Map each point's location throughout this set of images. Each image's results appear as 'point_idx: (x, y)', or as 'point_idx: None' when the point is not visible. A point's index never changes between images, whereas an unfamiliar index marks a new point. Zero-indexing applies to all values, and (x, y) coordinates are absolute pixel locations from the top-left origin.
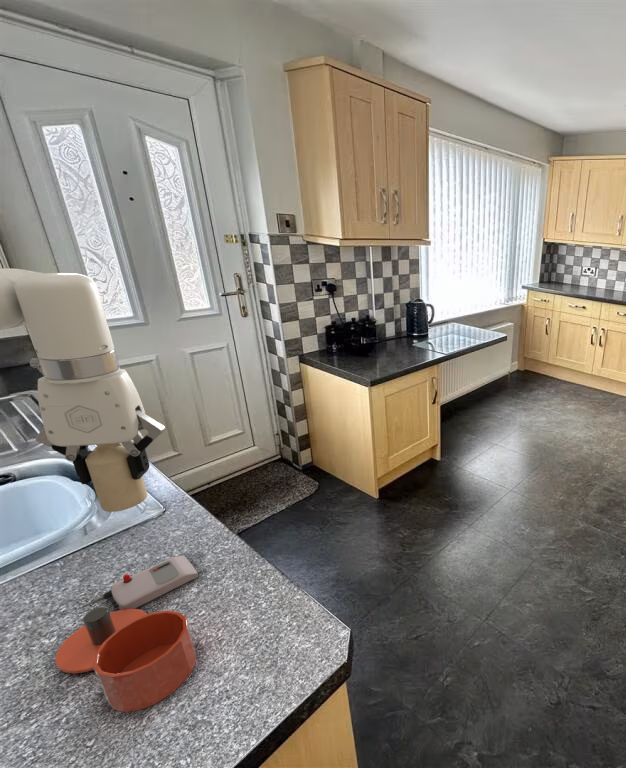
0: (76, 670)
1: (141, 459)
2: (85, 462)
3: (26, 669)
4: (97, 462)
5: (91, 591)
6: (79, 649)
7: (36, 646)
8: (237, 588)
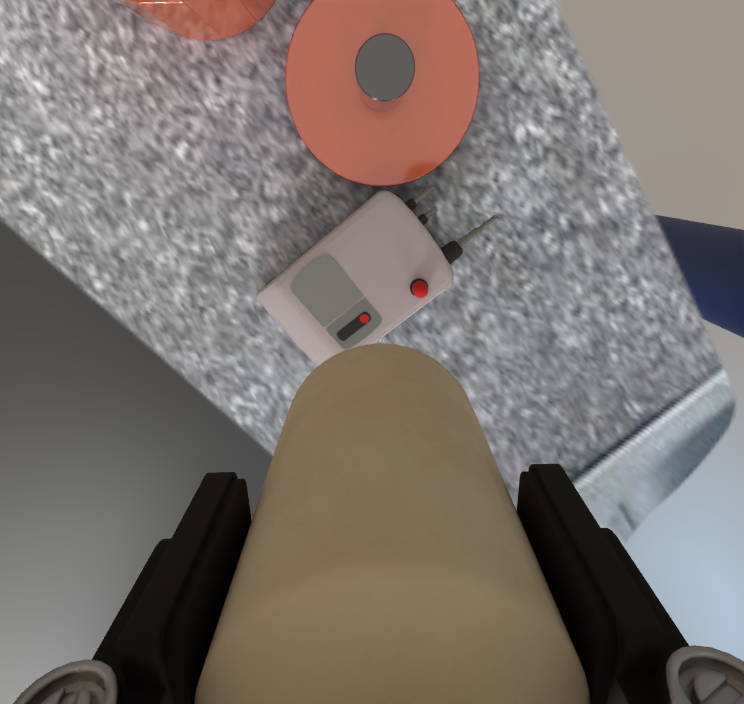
0: None
1: (112, 633)
2: (579, 635)
3: (533, 35)
4: (413, 590)
5: (510, 290)
6: (425, 51)
7: (549, 114)
8: (128, 227)
